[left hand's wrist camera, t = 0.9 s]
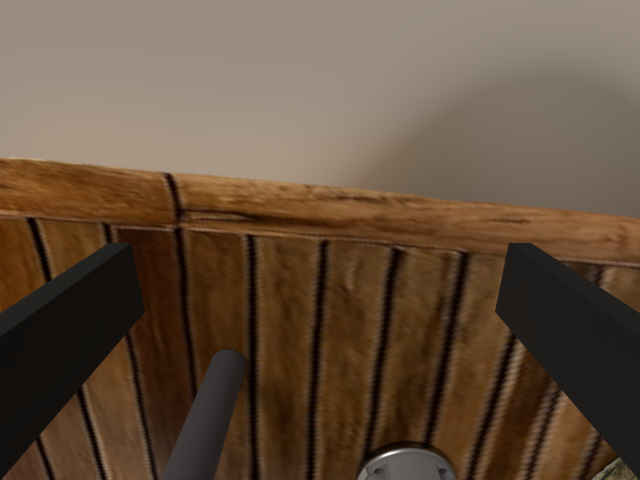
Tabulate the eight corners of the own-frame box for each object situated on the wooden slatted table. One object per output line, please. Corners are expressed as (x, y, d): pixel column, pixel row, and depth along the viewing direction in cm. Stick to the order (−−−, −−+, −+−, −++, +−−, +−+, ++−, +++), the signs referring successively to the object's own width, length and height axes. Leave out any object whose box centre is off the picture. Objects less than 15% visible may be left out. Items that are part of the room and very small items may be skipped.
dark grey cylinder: (243, 348, 47) (195, 502, 29) (247, 376, 49) (204, 538, 31) (209, 349, 48) (139, 503, 29) (214, 377, 49) (151, 539, 31)
